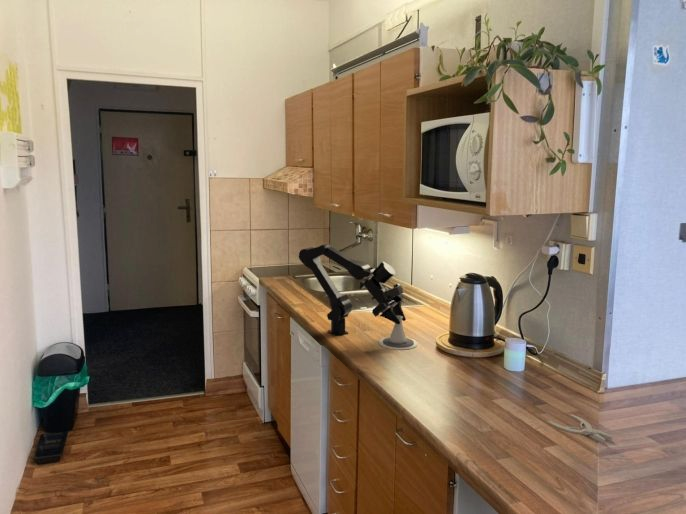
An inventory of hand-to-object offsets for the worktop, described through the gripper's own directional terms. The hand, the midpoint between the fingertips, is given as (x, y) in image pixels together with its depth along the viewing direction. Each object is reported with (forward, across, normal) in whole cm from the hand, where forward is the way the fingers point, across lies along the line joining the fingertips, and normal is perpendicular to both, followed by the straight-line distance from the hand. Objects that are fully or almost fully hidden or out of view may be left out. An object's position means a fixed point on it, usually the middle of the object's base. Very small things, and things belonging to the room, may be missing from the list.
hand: (402, 322), depth 216 cm
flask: (+5, 0, +7) cm, 8 cm away
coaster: (+5, 0, +7) cm, 9 cm away
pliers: (+56, -42, -43) cm, 82 cm away
